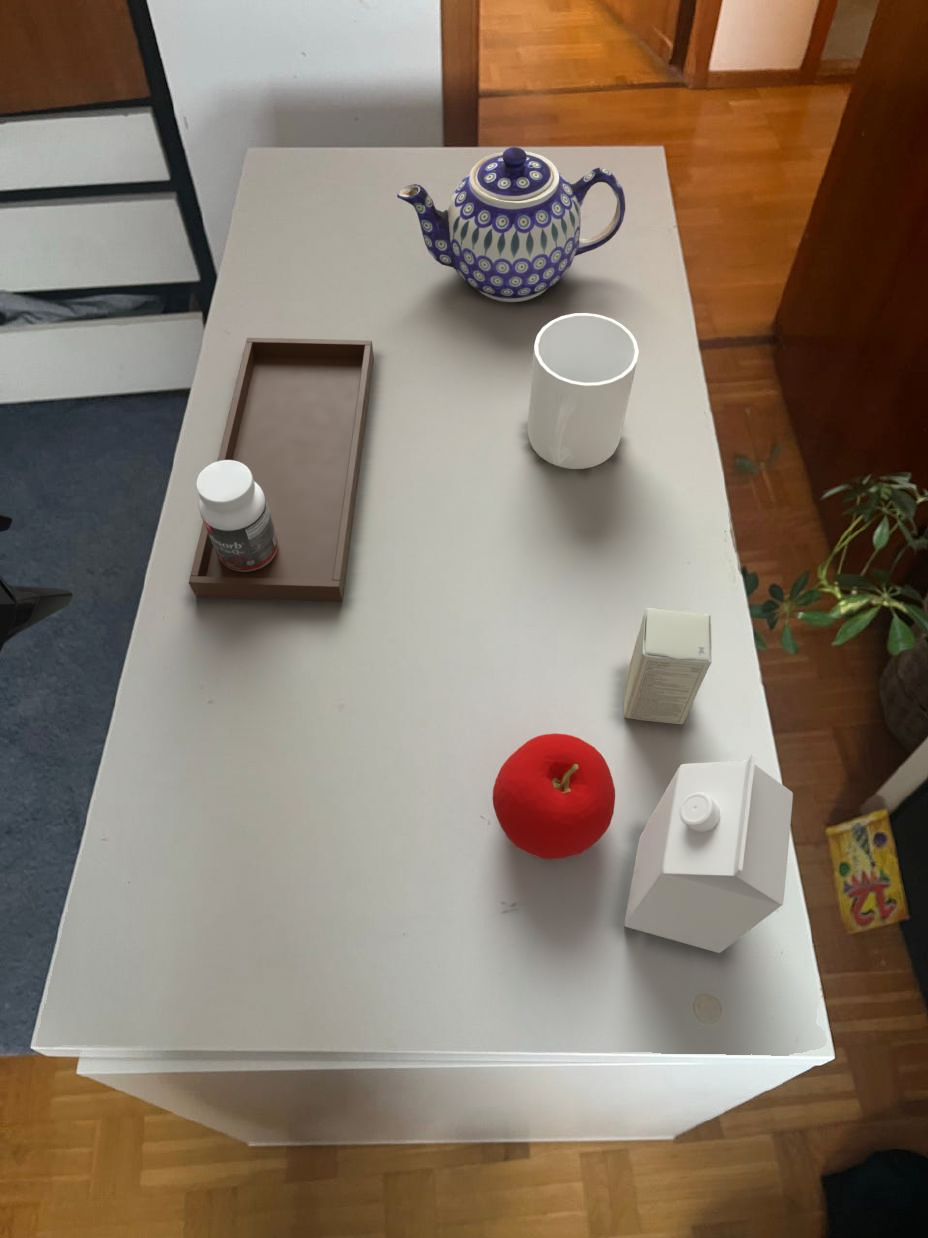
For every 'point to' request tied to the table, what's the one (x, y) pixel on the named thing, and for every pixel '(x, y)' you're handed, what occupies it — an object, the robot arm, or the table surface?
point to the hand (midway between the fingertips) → (39, 559)
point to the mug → (580, 389)
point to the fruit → (554, 796)
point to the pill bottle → (236, 516)
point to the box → (667, 665)
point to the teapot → (512, 224)
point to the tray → (296, 464)
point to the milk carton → (712, 855)
